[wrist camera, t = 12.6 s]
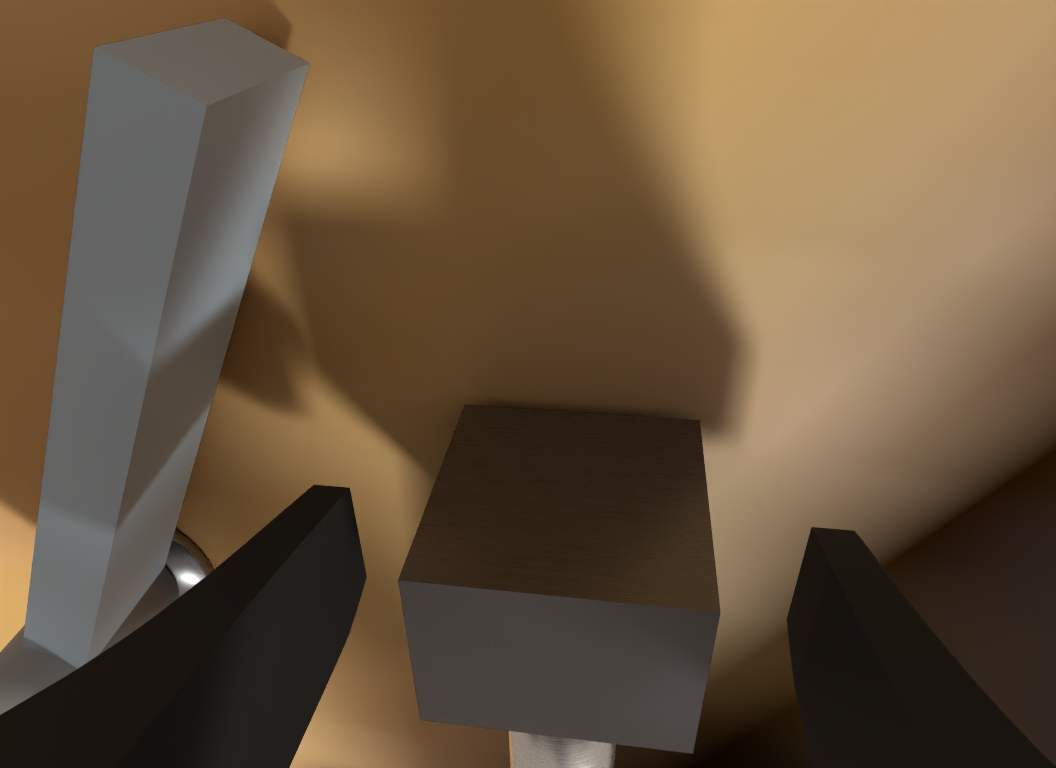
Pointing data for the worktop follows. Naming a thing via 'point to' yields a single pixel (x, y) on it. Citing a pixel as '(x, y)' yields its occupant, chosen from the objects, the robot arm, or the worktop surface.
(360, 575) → the robot arm
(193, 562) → the base
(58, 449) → the grey lever bar
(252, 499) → the worktop surface
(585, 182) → the worktop surface
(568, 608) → the hook rod
